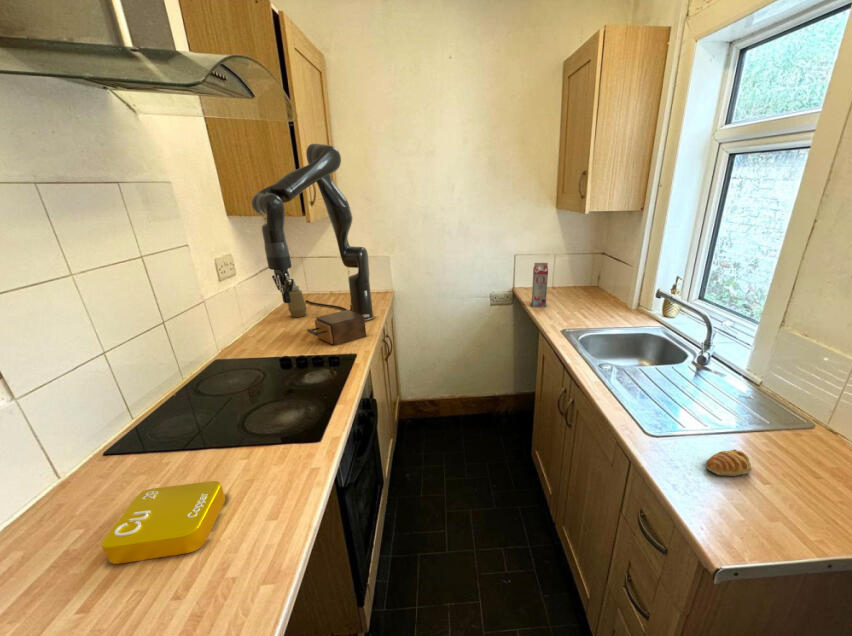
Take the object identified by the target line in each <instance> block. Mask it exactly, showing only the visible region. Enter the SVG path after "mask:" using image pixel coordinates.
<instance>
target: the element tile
mask: <svg viewBox="0 0 852 636" xmlns="http://www.w3.org/2000/svg"><path fill="white" fill-rule="evenodd" d="M225 502H226V496H225V493H224V490H223V486H222V483H221V482H220V481H217V480H210V481H209V480H208V481H203V482H195V483H185V484H178V485H177V484H176V485H171V486H170V485H169V486H163V487H154V488H153V487H152V488H149V489H144V490H143V491H141V492H140V493H139V494H138V495H136V497H135V498H134V499H133V501H131V503H130V504H129V505H128V506H127V508H126V509H125V511H124V512H123V513H122V515H121V516H120V517H119V518H118V520H117V521H116V522H115V523H114V525H113V526H112V527H111V529H110V530H109V531H108V532H107V534H106V535H105V536H104V538H103V539H102V541H101V543H100V545H101V548H102V551H103V552H104V555H105V556H106V558H107V560H108V561H109V563H110V564H112V565H113V564H115V565H119V564H126V563H132V562H139V561H145V560H152V559H159V558H166V557H172V556H178V555H179V556H180V555H185V554H189V553H193V552H196V551H197V550H199V549H201V547H202V546H204V544H205V543H206V541H207V540H208V537H209V535H210V533H211V531H212V529H213V527H214V525H215V523H216V521H217V518H218V516H219V514H220V512H221V511H222V508H223V506H224V504H225Z"/></svg>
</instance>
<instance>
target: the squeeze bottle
mask: <svg viewBox="0 0 852 636" xmlns="http://www.w3.org/2000/svg"><path fill="white" fill-rule="evenodd" d="M292 279H293V281H294V282H293V288H292V291H291V292H289V294H290V299H291V302H290V303H287V307H288V308H287V309H288V311H289V313H290V315H291V317H293V318H301V317H304V316H306V312H307V305H306V300H305V298H304V295H303V291H302V290H300V287H299V285H297V284H296V282H295V280H294V278H292Z"/></svg>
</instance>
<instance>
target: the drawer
mask: <svg viewBox="0 0 852 636" xmlns="http://www.w3.org/2000/svg"><path fill="white" fill-rule="evenodd" d="M314 326H315V327H314V328H307V329H306V332H307V333H308V334H312V335H314V336H316V338H319V339H320V340H322V341H325V342H326V343H329V344H331V345H333V344H332V343H334V342H333V335H332V329H331V326H330V325H328V324H326V323H324V322H322V321H319V320H316V319H314Z"/></svg>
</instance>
